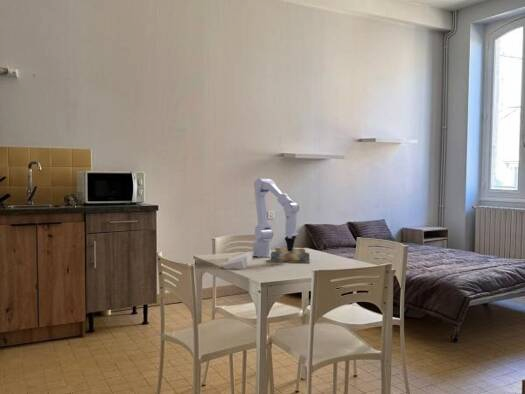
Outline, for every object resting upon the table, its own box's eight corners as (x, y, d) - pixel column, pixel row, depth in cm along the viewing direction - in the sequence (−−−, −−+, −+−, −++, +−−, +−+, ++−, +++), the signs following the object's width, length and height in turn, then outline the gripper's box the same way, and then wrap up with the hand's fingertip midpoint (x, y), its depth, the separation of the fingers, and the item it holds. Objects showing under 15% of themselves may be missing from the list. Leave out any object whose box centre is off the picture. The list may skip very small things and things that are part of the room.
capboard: (269, 261, 270) (269, 253, 270) (271, 258, 281) (271, 250, 281) (309, 263, 267) (309, 254, 267) (310, 260, 278) (310, 252, 278)
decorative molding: (224, 274, 246) (244, 270, 245) (222, 265, 246) (242, 260, 245) (235, 263, 280) (253, 259, 279) (233, 255, 280) (251, 251, 279)
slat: (275, 258, 274) (275, 247, 274) (275, 258, 276) (275, 247, 276) (304, 260, 272) (305, 248, 272) (305, 259, 274) (305, 248, 274)
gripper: (297, 226, 266) (297, 252, 266) (299, 224, 280) (298, 248, 281) (284, 225, 267) (283, 251, 267) (286, 223, 281) (285, 248, 282)
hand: (290, 250), depth 274 cm, fingers open, 7 cm apart
